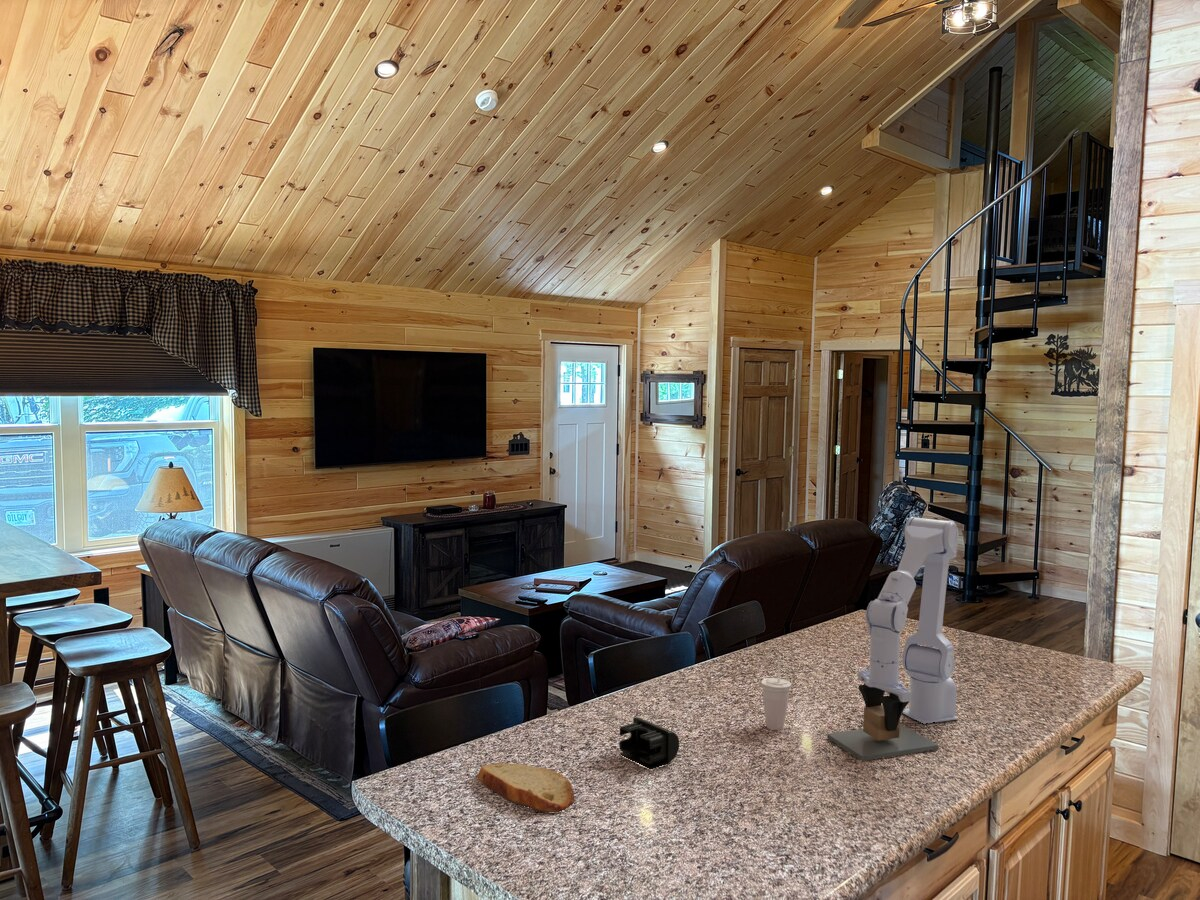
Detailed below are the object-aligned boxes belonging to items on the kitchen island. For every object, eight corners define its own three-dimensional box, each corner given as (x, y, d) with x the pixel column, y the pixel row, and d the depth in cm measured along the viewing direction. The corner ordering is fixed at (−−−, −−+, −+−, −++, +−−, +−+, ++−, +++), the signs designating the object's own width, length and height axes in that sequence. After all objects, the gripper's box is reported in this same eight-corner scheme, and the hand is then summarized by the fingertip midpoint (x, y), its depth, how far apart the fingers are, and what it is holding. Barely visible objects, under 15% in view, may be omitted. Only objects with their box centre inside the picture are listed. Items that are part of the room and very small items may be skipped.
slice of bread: (478, 771, 169) (478, 752, 169) (574, 771, 170) (574, 752, 169) (467, 817, 151) (467, 795, 151) (574, 816, 152) (574, 795, 151)
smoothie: (790, 733, 188) (792, 668, 187) (759, 731, 189) (760, 665, 188) (790, 722, 194) (791, 659, 193) (760, 720, 196) (761, 656, 195)
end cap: (679, 762, 173) (680, 728, 173) (652, 772, 169) (653, 737, 168) (644, 746, 181) (644, 713, 180) (617, 755, 176) (618, 722, 176)
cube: (883, 728, 186) (884, 704, 186) (899, 737, 181) (900, 713, 181) (863, 731, 184) (864, 707, 184) (878, 740, 180) (879, 716, 179)
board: (899, 728, 192) (900, 723, 192) (938, 749, 180) (938, 745, 180) (827, 738, 186) (827, 733, 186) (862, 761, 174) (862, 756, 174)
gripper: (846, 651, 187) (844, 714, 188) (890, 672, 174) (888, 740, 175) (875, 648, 190) (873, 711, 191) (920, 668, 176) (918, 736, 177)
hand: (882, 725), depth 183 cm, fingers closed on cube, 5 cm apart
